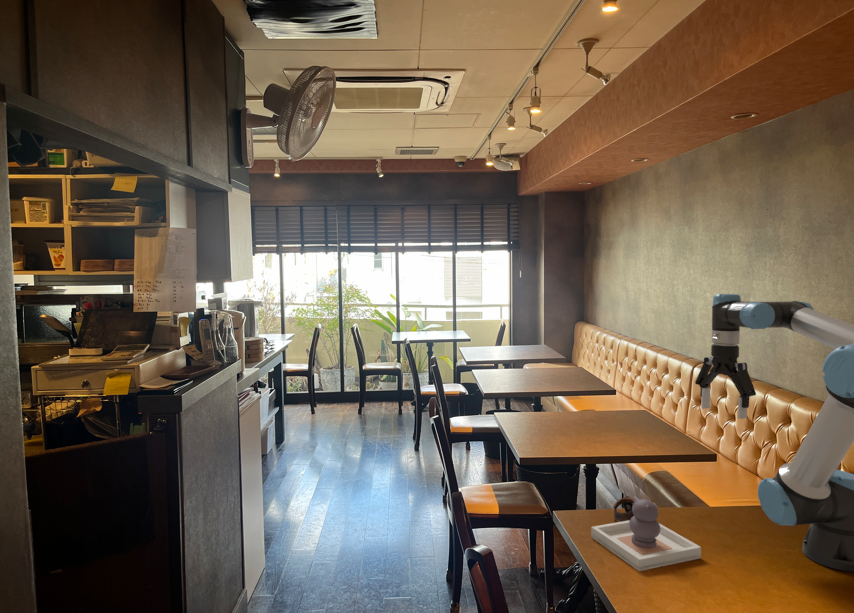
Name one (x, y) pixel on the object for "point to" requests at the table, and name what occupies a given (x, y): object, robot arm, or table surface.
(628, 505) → the pottery mug
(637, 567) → the tray
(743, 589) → the table surface
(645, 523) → the cat figurine
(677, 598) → the table surface
